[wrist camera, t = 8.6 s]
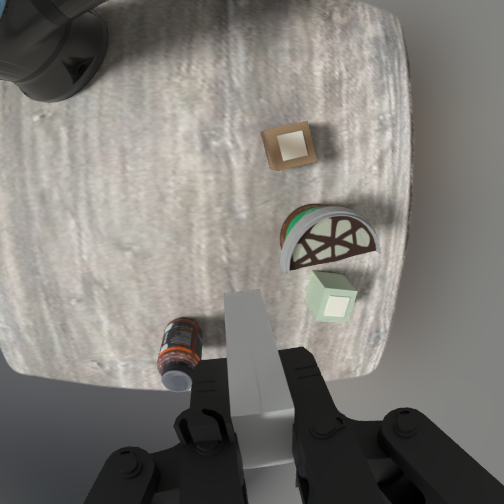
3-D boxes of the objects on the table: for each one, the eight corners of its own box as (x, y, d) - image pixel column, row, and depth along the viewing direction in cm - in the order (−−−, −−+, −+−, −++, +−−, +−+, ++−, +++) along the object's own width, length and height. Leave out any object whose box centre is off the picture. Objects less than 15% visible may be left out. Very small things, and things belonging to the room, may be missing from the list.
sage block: (312, 270, 44) (325, 288, 38) (342, 274, 45) (358, 291, 39) (304, 300, 46) (315, 321, 40) (333, 303, 46) (347, 323, 40)
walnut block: (260, 132, 37) (266, 129, 32) (297, 124, 37) (308, 120, 32) (270, 168, 39) (277, 171, 34) (305, 160, 39) (317, 161, 34)
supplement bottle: (158, 322, 44) (145, 369, 34) (194, 312, 44) (188, 359, 34) (174, 351, 46) (166, 400, 36) (208, 342, 46) (207, 392, 36)
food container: (347, 188, 41) (382, 201, 31) (351, 230, 43) (384, 252, 33) (262, 204, 40) (275, 221, 31) (269, 247, 42) (284, 276, 33)
